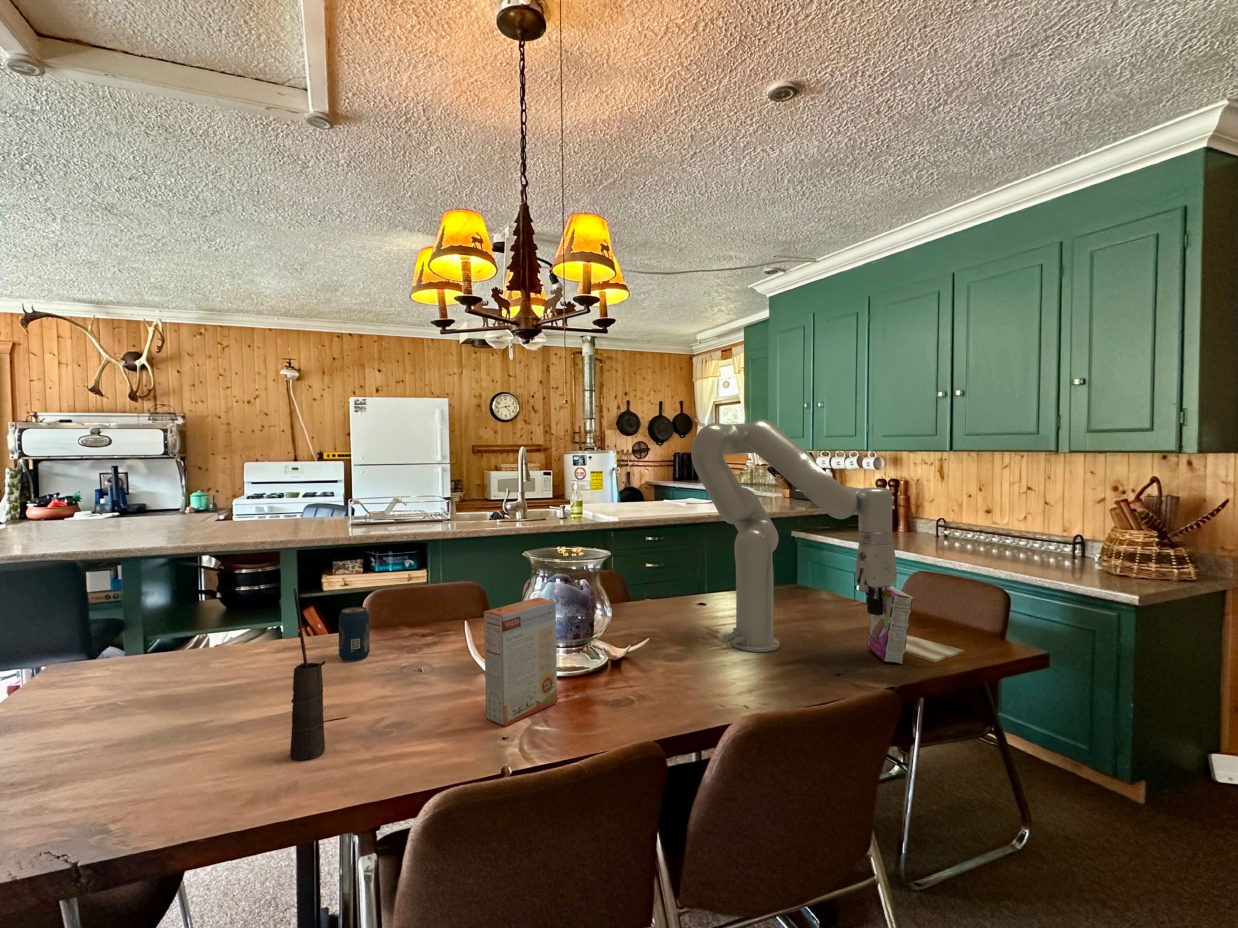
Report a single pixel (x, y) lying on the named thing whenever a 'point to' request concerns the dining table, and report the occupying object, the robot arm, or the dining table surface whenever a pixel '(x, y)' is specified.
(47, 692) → the dining table surface
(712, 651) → the dining table surface
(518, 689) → the cracker box
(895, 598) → the candy bar box
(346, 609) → the soda can
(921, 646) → the beige flat rectangular panel
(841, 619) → the dining table surface
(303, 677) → the butter churn
